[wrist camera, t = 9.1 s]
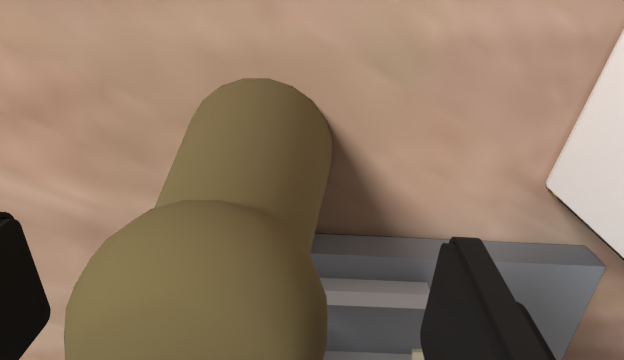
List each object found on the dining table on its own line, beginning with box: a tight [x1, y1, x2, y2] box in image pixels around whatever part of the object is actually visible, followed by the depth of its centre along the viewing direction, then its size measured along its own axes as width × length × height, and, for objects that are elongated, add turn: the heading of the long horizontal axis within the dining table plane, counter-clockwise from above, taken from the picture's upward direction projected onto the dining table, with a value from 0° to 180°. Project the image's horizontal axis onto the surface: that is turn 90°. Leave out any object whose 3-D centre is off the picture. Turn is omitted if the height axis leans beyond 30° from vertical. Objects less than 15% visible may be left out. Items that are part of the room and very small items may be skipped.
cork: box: [64, 79, 333, 360], centre depth 12 cm, size 6×6×11 cm
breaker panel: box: [310, 234, 606, 360], centre depth 21 cm, size 13×20×2 cm, turn 87°
